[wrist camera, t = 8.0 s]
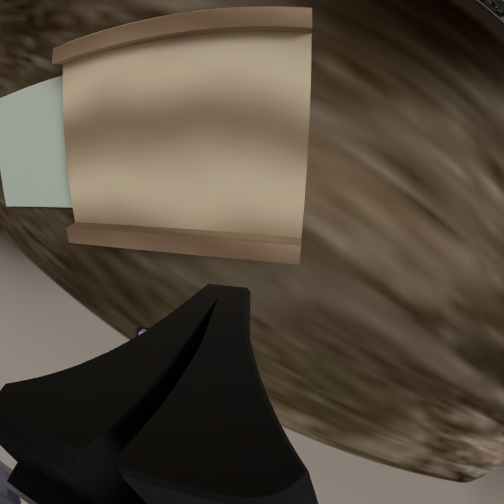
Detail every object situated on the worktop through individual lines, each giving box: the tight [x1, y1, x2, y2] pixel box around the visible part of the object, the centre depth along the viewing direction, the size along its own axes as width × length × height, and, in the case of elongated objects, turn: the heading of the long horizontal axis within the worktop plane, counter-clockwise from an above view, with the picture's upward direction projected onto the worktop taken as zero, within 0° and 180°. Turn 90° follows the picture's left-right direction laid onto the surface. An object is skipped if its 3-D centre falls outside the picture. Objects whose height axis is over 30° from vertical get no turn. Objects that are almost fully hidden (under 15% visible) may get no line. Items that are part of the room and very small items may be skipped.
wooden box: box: [52, 6, 312, 264], centre depth 15 cm, size 13×14×4 cm
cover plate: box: [0, 75, 73, 208], centre depth 18 cm, size 9×10×2 cm
